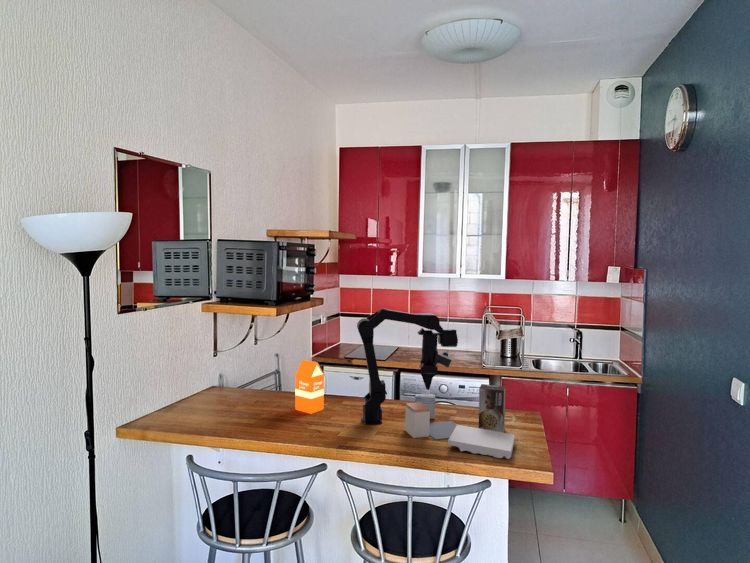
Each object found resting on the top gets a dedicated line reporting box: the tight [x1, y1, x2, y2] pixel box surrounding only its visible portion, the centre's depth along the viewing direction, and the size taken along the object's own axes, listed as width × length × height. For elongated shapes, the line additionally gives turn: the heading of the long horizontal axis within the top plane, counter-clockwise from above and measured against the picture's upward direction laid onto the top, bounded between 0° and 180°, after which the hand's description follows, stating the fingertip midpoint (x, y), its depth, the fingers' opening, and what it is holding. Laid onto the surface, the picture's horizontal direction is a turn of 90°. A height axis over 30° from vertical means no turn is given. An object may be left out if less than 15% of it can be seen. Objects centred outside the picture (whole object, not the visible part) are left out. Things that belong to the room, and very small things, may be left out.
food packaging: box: [447, 424, 516, 460], centre depth 172 cm, size 15×3×20 cm
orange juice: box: [294, 359, 325, 415], centre depth 208 cm, size 8×9×20 cm
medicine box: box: [414, 393, 436, 420], centre depth 202 cm, size 8×4×9 cm, turn 84°
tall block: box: [404, 402, 431, 439], centre depth 184 cm, size 6×8×10 cm
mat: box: [429, 420, 458, 441], centre depth 187 cm, size 14×16×1 cm
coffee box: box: [477, 383, 506, 433], centre depth 188 cm, size 9×6×16 cm
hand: (427, 386), depth 197 cm, fingers open, 9 cm apart
